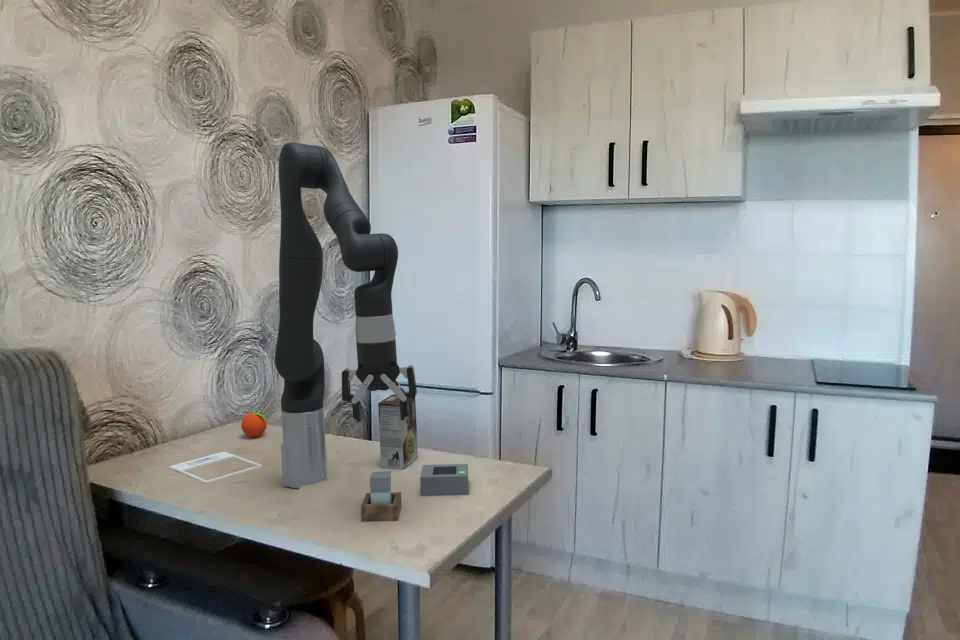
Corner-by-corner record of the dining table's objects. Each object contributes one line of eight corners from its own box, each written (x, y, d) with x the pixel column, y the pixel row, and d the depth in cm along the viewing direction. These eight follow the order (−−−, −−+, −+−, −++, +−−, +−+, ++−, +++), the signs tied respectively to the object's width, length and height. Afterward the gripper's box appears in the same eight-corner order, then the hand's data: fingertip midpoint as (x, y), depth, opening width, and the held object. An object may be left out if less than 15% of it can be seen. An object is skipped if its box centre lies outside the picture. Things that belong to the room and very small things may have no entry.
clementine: (275, 434, 198) (274, 410, 197) (260, 441, 191) (258, 416, 190) (252, 432, 200) (251, 408, 200) (236, 439, 194) (234, 414, 193)
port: (420, 500, 146) (420, 475, 145) (423, 486, 154) (422, 463, 153) (468, 499, 146) (467, 474, 145) (468, 485, 154) (467, 461, 153)
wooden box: (361, 526, 133) (360, 506, 133) (367, 512, 140) (366, 493, 140) (398, 525, 133) (397, 505, 133) (401, 511, 140) (400, 492, 140)
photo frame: (224, 450, 181) (262, 464, 170) (224, 454, 181) (262, 468, 170) (169, 465, 170) (205, 481, 159) (169, 469, 170) (206, 485, 159)
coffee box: (394, 456, 176) (392, 393, 174) (418, 457, 174) (416, 394, 172) (379, 467, 167) (376, 402, 165) (404, 469, 165) (401, 403, 163)
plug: (371, 517, 135) (369, 478, 134) (374, 510, 138) (372, 471, 137) (390, 517, 135) (388, 477, 134) (392, 509, 138) (390, 471, 138)
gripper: (335, 343, 130) (341, 427, 132) (411, 339, 130) (416, 423, 132) (342, 337, 137) (348, 417, 139) (414, 333, 137) (419, 413, 139)
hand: (381, 420), depth 135 cm, fingers open, 8 cm apart
